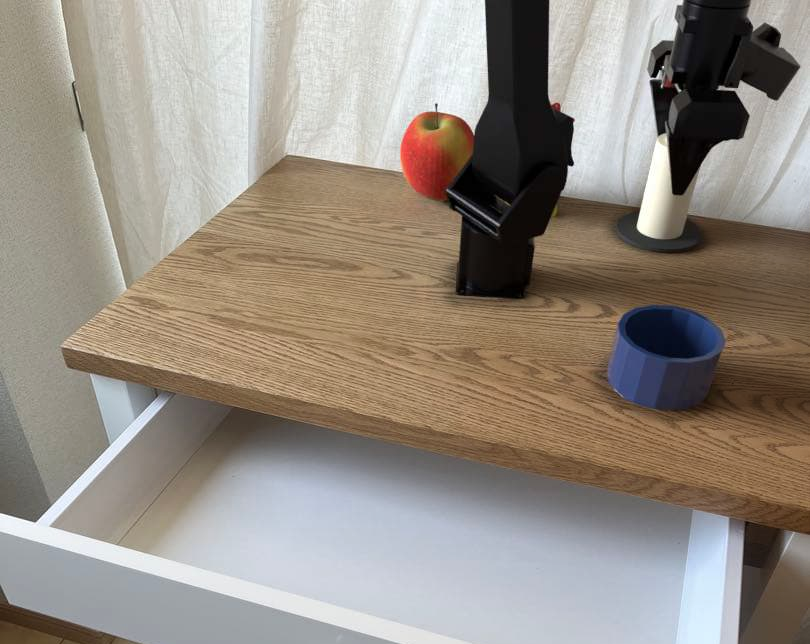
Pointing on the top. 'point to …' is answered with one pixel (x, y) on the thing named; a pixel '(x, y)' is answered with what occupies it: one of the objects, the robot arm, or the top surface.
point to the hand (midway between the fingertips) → (671, 178)
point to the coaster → (631, 235)
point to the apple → (435, 152)
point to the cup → (664, 357)
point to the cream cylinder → (663, 199)
